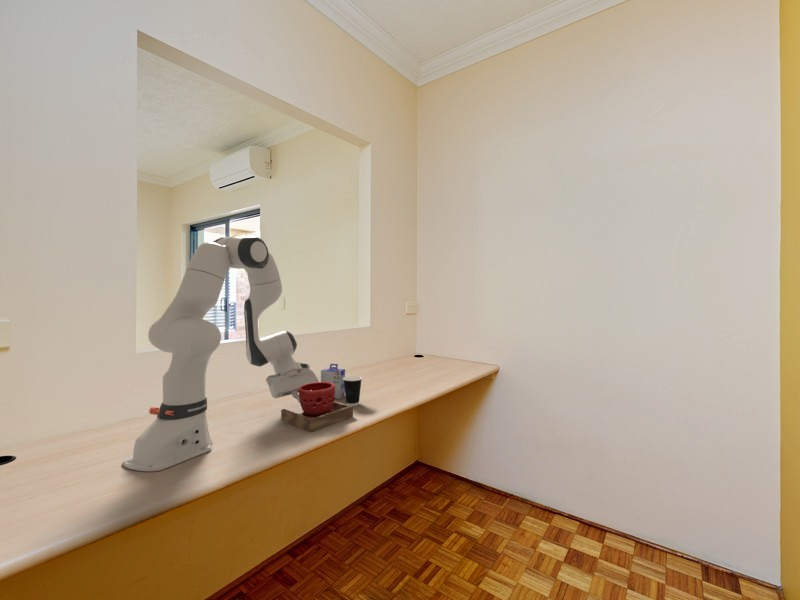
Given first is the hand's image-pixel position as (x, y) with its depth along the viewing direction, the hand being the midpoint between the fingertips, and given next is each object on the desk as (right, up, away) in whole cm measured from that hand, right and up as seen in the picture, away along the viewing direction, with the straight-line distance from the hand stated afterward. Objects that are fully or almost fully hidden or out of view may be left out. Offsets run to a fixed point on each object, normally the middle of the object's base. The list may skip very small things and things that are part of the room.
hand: (303, 401), depth 141 cm
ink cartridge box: (+7, -5, +23) cm, 25 cm away
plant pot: (+6, -5, -4) cm, 9 cm away
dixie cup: (+17, -5, +13) cm, 22 cm away
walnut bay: (+6, -5, -5) cm, 9 cm away
